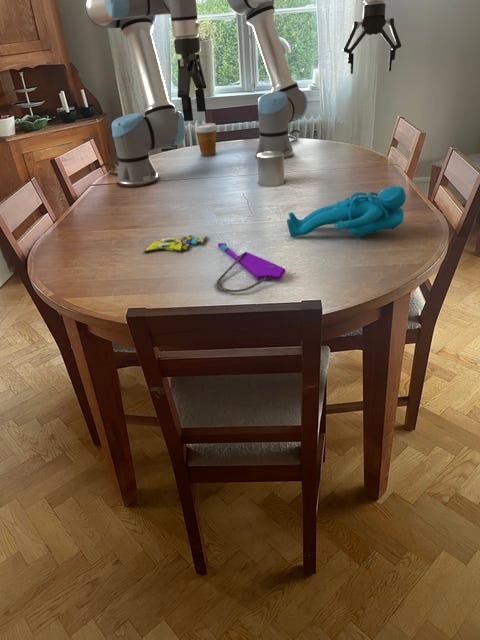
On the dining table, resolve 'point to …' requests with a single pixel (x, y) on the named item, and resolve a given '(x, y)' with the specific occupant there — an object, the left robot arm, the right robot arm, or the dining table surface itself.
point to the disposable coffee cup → (206, 138)
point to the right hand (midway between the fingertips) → (370, 72)
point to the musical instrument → (252, 267)
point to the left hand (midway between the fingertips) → (195, 116)
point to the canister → (271, 168)
